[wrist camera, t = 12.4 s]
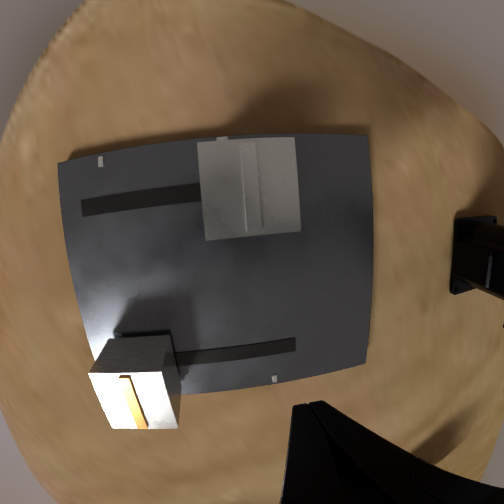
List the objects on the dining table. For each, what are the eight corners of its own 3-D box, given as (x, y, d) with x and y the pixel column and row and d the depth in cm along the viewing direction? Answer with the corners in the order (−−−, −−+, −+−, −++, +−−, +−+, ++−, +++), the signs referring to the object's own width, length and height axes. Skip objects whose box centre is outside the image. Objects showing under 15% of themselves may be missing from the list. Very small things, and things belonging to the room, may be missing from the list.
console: (360, 137, 17) (368, 135, 16) (359, 357, 21) (366, 363, 20) (64, 164, 15) (56, 162, 14) (111, 388, 18) (108, 397, 17)
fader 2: (273, 149, 15) (295, 136, 11) (279, 221, 16) (302, 231, 12) (199, 154, 15) (196, 141, 11) (206, 228, 16) (205, 241, 12)
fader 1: (169, 334, 17) (160, 374, 13) (181, 386, 18) (178, 430, 13) (108, 338, 16) (87, 375, 12) (125, 388, 17) (111, 430, 13)
